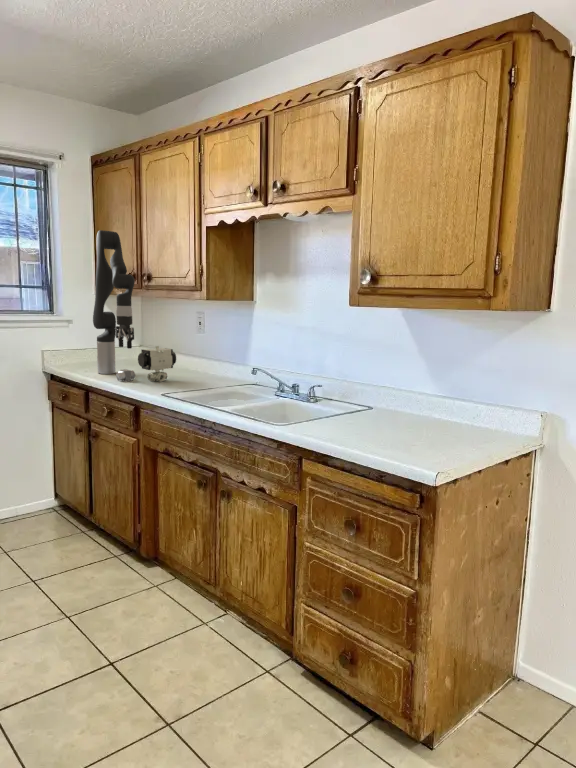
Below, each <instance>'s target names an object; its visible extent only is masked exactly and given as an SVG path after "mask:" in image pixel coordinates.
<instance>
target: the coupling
mask: <svg viewBox="0 0 576 768" xmlns="http://www.w3.org/2000/svg"><path fill="white" fill-rule="evenodd" d="M115 376H116V379H117V381H122V380H123V381H122V382H125V381H127V382H132V380H134V379H136V372H135V370H129V369H126V368H125V369H120V370H119V371H116V374H115Z"/></svg>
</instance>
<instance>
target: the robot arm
mask: <svg viewBox="0 0 576 768" xmlns="http://www.w3.org/2000/svg"><path fill="white" fill-rule="evenodd" d="M95 240H96V242H95V243H96V272H95V297H94V305H93V312H92V313H93V314H92V322H93V326H94V328H95V329H97V330H104V332H102V333H101V334H99V335H97V337H96V350H97V351H96V353H97V356H96V357H97V358H96V359H97V361H96V362H97V373H98V374H99V373H100V375H110V374H111V375H112V374H115V373H116V374H117V371H116V341H115V340H116V339H117V340H118V348H123V347H124V338H125V339H126V348H127V349H129V350H130V349H132V348H133V344H132V343H133V340H135V328H134V327H131V326H132V325H133V308H132V307H133V306H132V296H133V291H134V286H135V284H136V281H135V277H134V276H133V275H132V274H128V273H127V272H128V269H127V266H126V263H125V261H124V255H123V249H122V242H121V238H120V235H119V233H118V232H116V231H111V230H101V229H100V230H98V231H97V234H96V239H95ZM105 250H110V251H111V250H114V252H113V254H112V255H111V257H110V260H109V262H108V261H107V258H106V255H105ZM109 264H110V265H109ZM114 288H115V289H119V290H120V289H122V290H123V289H126V290H125V291H124V292H122V293H118V294H116V308H115V309H116V313H114V312H113V311H105V304H106V303H107V300H108V298H109V297H110V296H111V294H112V292H113V291H114ZM115 314H116V315H115Z"/></svg>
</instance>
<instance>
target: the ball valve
mask: <svg viewBox="0 0 576 768" xmlns="http://www.w3.org/2000/svg"><path fill="white" fill-rule="evenodd" d="M159 347H160V346H159V345H155V348H146V349H144V348H143V349H141V352H140V353H139V354H138V355H137V363H138V365H139V366H140V367H141V369H142V370H146V371H153V372H150V373H148V374H147V380H148V381H149V382H152V381H154V382H159V383H162V382H165V381H166V380H167V379H168V373H167V372H165V371H164V370H166V369H168V370H169V369H174V366H175V364H176V362H177V354H176V352H175V351H174V349H172V348H167V347H164V348H163V347H161V348H159ZM160 370H161V371H160Z"/></svg>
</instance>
